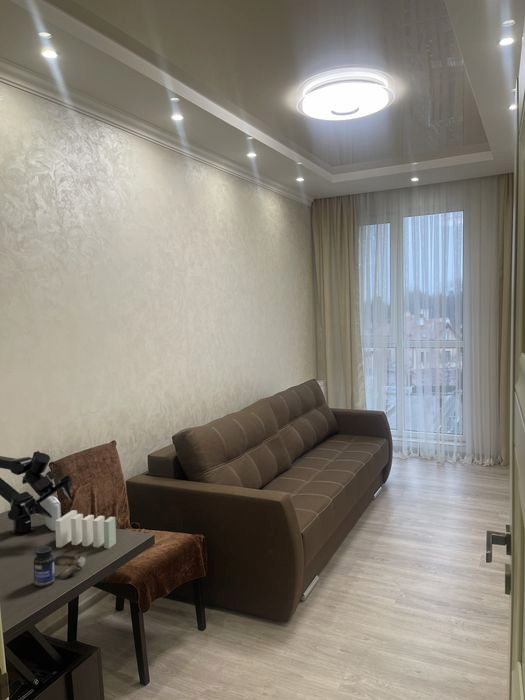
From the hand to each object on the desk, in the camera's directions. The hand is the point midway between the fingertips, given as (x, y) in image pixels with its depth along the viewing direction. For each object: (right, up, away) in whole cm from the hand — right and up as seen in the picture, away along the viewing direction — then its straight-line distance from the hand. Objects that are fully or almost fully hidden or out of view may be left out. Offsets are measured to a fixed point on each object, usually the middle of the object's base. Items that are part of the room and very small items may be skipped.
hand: (62, 509), depth 199 cm
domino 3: (+10, -13, +1) cm, 16 cm away
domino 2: (+5, -13, +2) cm, 14 cm away
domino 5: (+18, -13, -1) cm, 23 cm away
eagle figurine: (+11, -15, -23) cm, 29 cm away
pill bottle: (+5, -15, -29) cm, 33 cm away
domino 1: (+1, -13, +3) cm, 13 cm away
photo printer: (-10, -12, +16) cm, 23 cm away
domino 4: (+14, -13, 0) cm, 19 cm away
